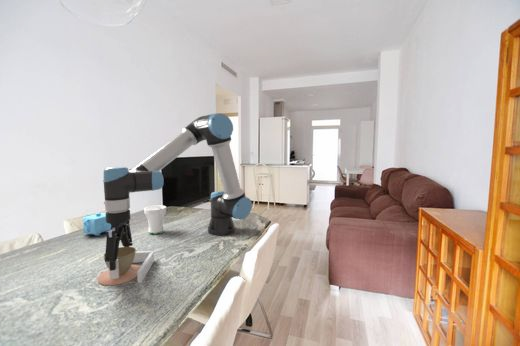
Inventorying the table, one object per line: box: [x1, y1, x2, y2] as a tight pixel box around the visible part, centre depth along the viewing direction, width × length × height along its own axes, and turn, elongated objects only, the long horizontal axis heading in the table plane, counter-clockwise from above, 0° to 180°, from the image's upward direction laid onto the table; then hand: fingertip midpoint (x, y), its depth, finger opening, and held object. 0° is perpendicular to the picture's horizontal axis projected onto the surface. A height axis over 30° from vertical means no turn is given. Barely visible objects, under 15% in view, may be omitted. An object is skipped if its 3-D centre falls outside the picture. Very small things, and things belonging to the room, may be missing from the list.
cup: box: [143, 204, 167, 236], centre depth 128 cm, size 11×11×14 cm
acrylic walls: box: [132, 250, 155, 284], centre depth 86 cm, size 16×17×4 cm
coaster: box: [97, 263, 142, 286], centre depth 84 cm, size 14×14×1 cm
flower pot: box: [103, 246, 137, 274], centre depth 84 cm, size 10×10×7 cm
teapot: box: [82, 212, 111, 237], centre depth 127 cm, size 16×18×11 cm
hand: (120, 270), depth 84 cm, fingers closed on flower pot, 10 cm apart
